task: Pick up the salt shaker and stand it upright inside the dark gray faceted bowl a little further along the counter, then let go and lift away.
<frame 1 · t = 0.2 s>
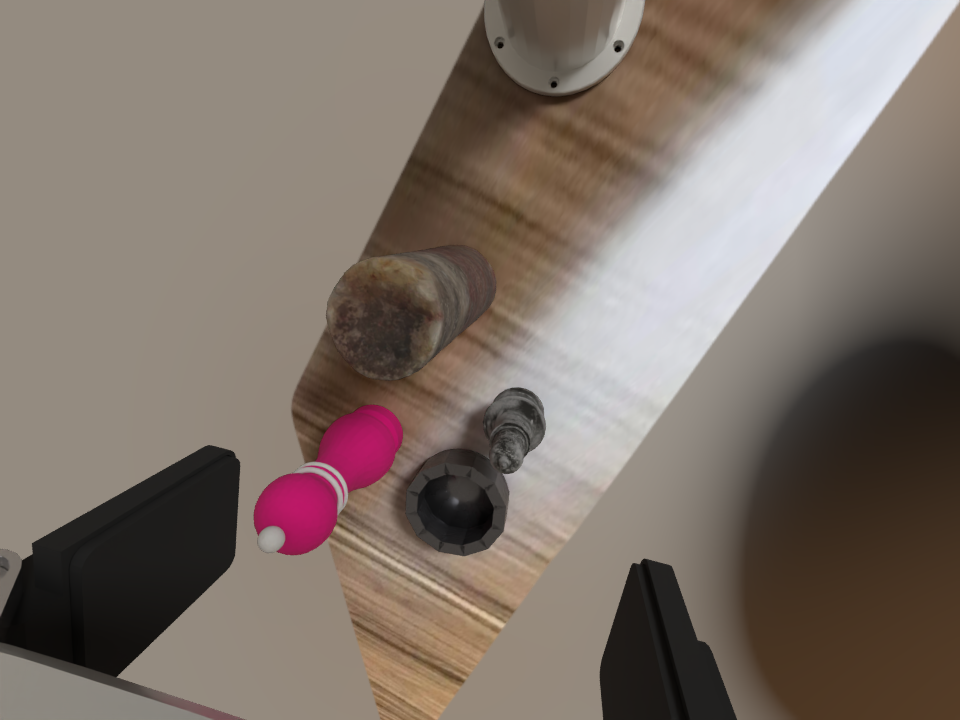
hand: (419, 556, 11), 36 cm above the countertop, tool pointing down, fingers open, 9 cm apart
candle: (458, 284, 46), on the countertop
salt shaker: (517, 411, 48), on the countertop
pepper mill: (376, 430, 51), on the countertop
dark gray faceted bowl: (461, 492, 51), on the countertop
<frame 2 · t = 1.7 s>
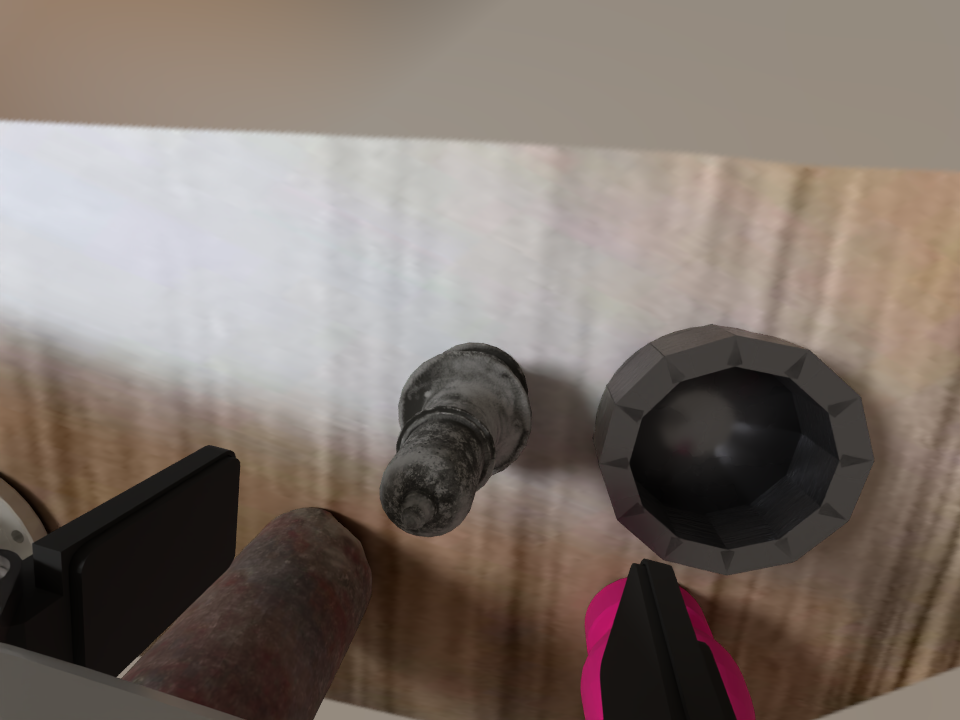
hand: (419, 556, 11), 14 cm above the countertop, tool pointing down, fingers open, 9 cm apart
candle: (322, 561, 28), on the countertop
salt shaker: (476, 392, 24), on the countertop
pepper mill: (642, 621, 26), on the countertop
dark gray faceted bowl: (703, 431, 23), on the countertop
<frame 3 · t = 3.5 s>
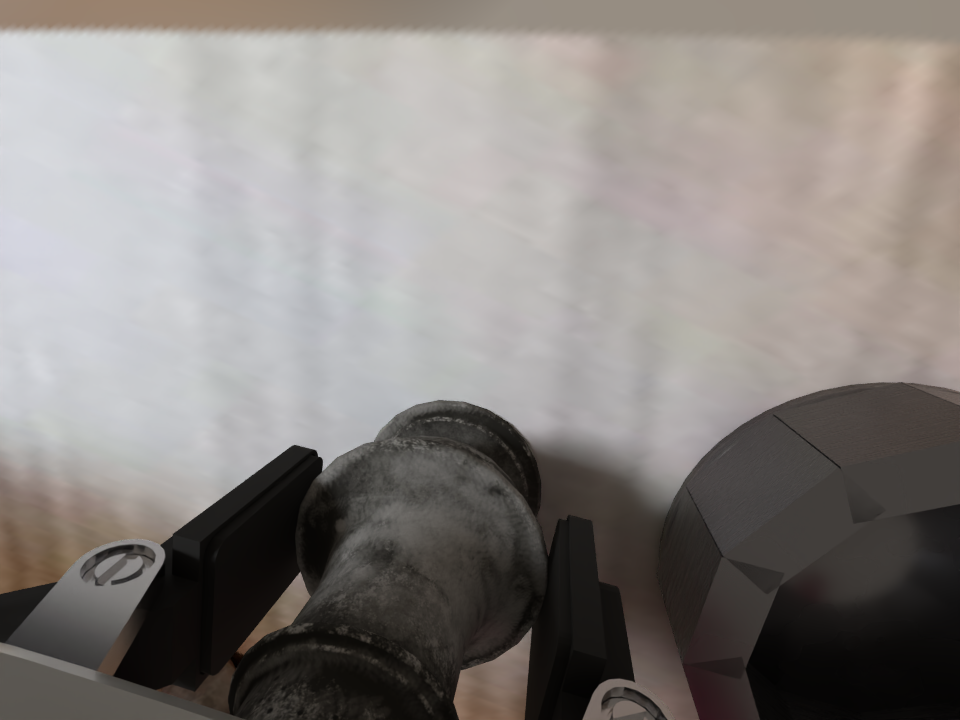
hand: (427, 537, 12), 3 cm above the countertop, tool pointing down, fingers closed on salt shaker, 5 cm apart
candle: (224, 719, 18), on the countertop
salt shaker: (452, 482, 14), on the countertop, touching gripper
dark gray faceted bowl: (861, 567, 13), on the countertop
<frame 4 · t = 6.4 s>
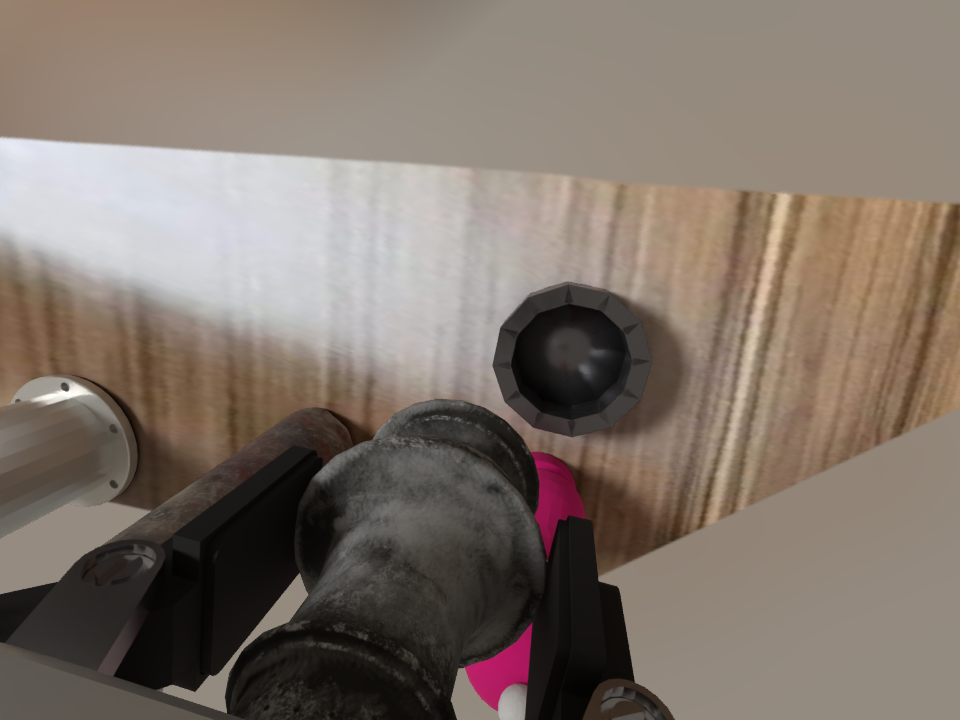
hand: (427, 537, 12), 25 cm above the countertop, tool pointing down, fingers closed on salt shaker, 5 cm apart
candle: (322, 447, 41), on the countertop
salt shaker: (451, 480, 14), point 22 cm above the countertop, touching gripper
pepper mill: (536, 486, 38), on the countertop
dark gray faceted bowl: (568, 352, 35), on the countertop
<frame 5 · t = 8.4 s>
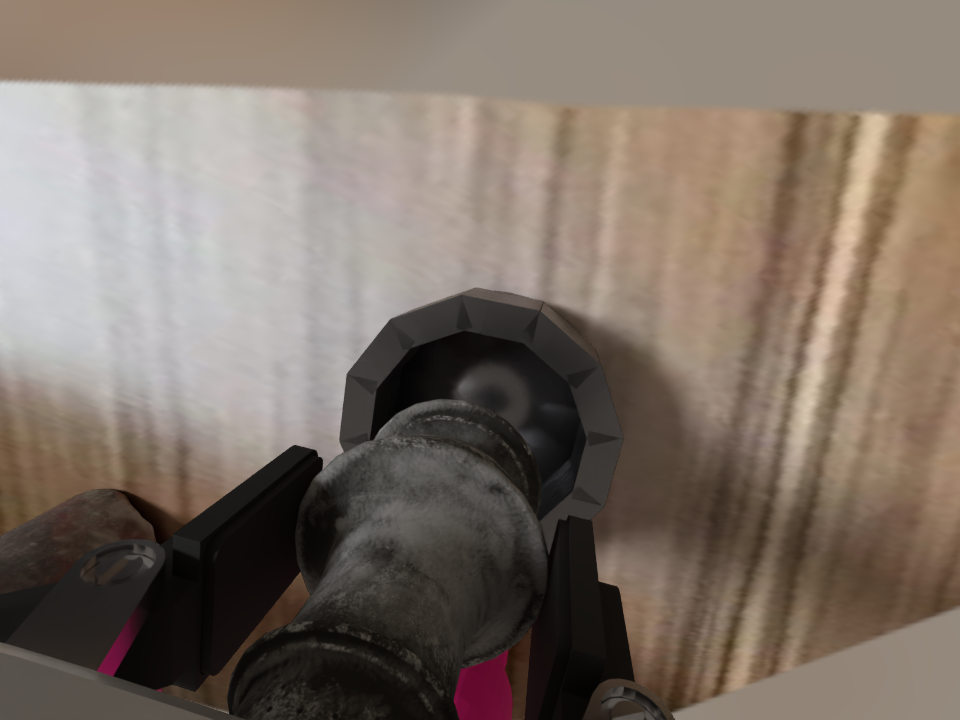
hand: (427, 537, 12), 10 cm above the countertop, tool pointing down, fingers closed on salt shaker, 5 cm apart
candle: (127, 546, 26), on the countertop
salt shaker: (452, 481, 14), point 7 cm above the countertop, touching gripper
pepper mill: (449, 616, 24), on the countertop
dark gray faceted bowl: (488, 408, 21), on the countertop
when the fingers open (5 cm above the countertop, at t = 9.8 s): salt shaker drops 1 cm, resting on dark gray faceted bowl.
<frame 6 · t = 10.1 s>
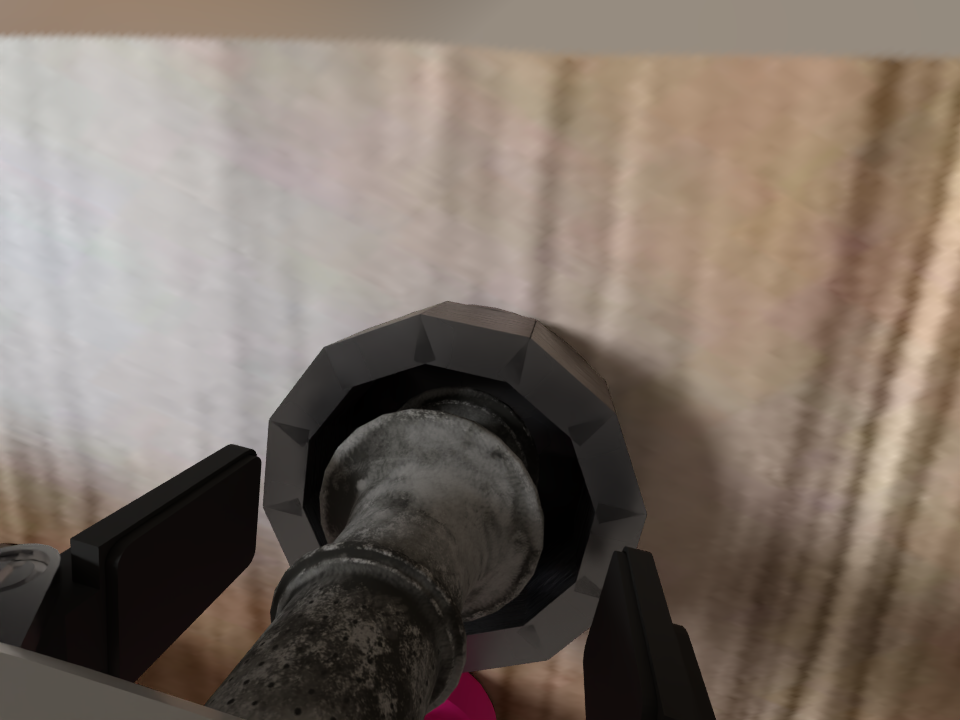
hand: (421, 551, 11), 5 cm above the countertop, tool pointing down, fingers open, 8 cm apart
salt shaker: (459, 462, 16), point 1 cm above the countertop, touching dark gray faceted bowl
pepper mill: (421, 706, 19), on the countertop
dark gray faceted bowl: (466, 455, 16), on the countertop
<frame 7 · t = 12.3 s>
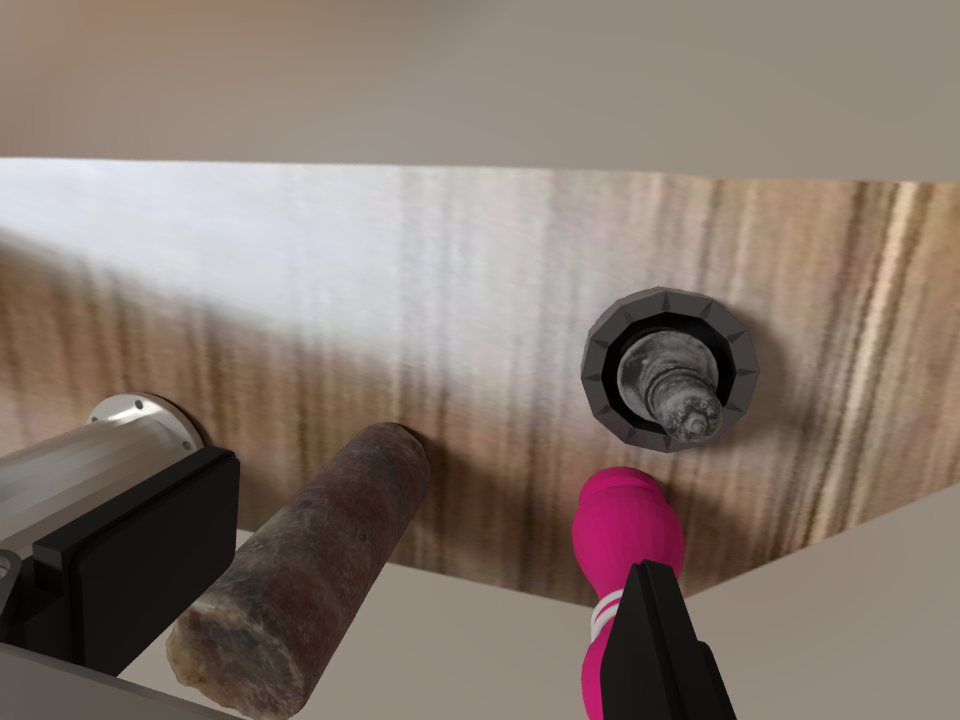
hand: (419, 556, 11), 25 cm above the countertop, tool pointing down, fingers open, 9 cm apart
candle: (394, 462, 40), on the countertop
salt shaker: (657, 363, 33), resting on dark gray faceted bowl
pepper mill: (620, 502, 36), on the countertop
dark gray faceted bowl: (658, 361, 33), on the countertop
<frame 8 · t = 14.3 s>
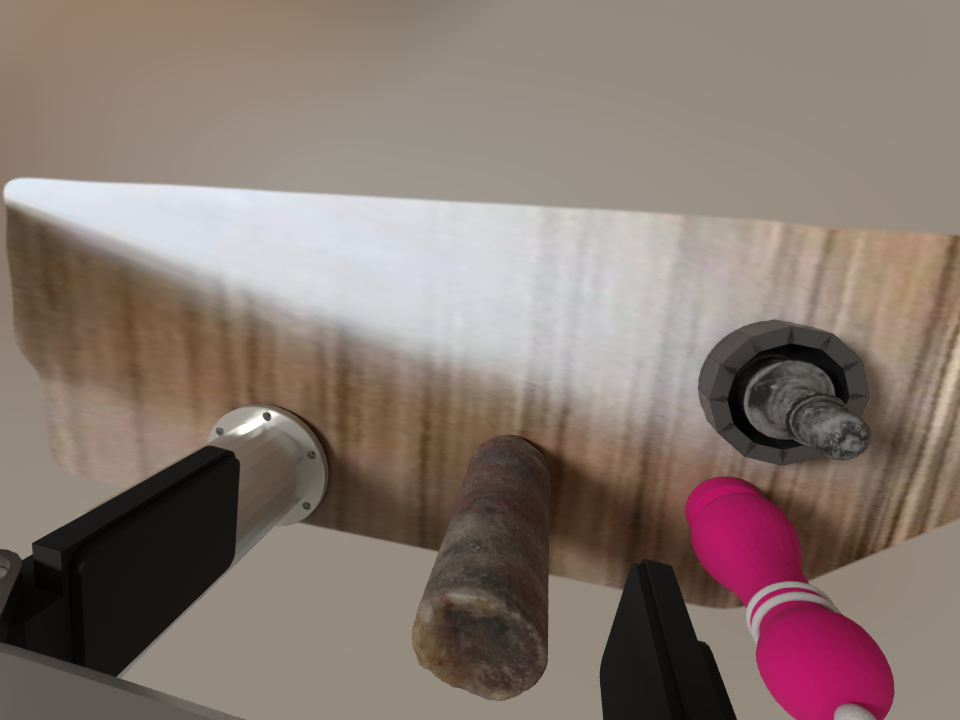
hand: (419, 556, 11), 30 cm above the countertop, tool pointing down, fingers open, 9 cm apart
candle: (511, 471, 43), on the countertop
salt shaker: (767, 386, 37), resting on dark gray faceted bowl
pepper mill: (722, 508, 41), on the countertop
dark gray faceted bowl: (766, 384, 38), on the countertop
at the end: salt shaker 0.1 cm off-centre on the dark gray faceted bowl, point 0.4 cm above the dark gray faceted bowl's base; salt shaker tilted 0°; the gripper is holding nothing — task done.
